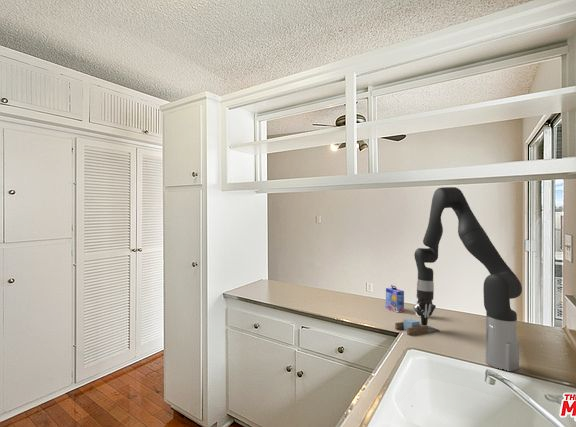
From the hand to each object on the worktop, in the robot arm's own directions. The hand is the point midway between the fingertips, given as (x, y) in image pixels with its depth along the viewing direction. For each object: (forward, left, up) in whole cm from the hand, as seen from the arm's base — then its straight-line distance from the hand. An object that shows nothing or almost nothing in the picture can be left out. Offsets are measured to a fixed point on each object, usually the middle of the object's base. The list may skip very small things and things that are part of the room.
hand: (424, 324), depth 150 cm
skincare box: (+16, -16, -2) cm, 23 cm away
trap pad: (0, -1, -2) cm, 2 cm away
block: (0, +9, -2) cm, 9 cm away
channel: (0, +9, -2) cm, 9 cm away
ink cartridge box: (+31, -10, -2) cm, 33 cm away
